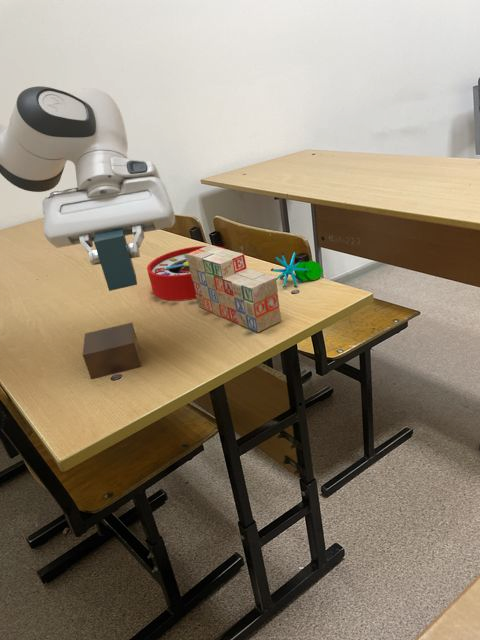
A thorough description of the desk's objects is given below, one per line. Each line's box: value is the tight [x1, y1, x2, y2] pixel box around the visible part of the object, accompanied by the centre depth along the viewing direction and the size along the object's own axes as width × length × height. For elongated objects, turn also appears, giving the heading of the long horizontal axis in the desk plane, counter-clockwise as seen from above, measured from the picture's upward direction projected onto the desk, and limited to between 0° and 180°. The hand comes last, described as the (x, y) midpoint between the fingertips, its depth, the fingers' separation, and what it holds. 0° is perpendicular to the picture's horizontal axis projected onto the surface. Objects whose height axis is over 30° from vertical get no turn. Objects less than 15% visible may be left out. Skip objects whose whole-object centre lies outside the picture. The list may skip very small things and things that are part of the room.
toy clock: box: [146, 245, 228, 302], centre depth 127 cm, size 20×6×20 cm
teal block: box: [93, 228, 138, 292], centre depth 83 cm, size 4×4×8 cm
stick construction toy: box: [270, 252, 324, 289], centre depth 120 cm, size 12×7×8 cm
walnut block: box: [82, 322, 142, 380], centre depth 97 cm, size 9×9×5 cm
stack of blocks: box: [186, 244, 282, 333], centre depth 106 cm, size 21×6×12 cm, turn 40°
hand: (115, 259), depth 82 cm, fingers closed on teal block, 4 cm apart
